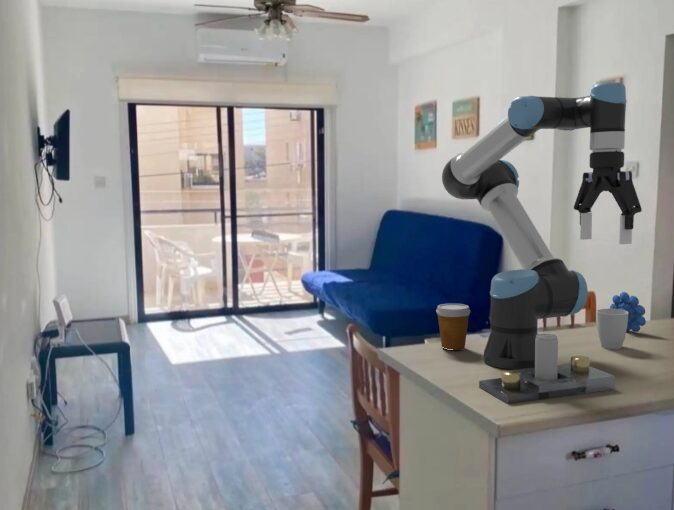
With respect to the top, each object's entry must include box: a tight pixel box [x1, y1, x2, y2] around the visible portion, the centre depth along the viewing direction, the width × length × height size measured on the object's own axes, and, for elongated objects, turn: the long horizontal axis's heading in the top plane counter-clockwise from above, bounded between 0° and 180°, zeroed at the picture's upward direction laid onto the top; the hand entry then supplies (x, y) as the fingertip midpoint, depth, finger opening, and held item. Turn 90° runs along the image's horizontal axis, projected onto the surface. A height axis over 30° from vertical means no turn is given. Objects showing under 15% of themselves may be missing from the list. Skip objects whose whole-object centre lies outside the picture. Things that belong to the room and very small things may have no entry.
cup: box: [596, 308, 628, 350], centre depth 179 cm, size 8×8×10 cm
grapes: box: [609, 291, 647, 333], centre depth 196 cm, size 12×7×12 cm, turn 33°
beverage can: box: [535, 333, 559, 381], centre depth 145 cm, size 5×5×12 cm
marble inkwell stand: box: [478, 355, 616, 405], centre depth 145 cm, size 12×27×6 cm, turn 107°
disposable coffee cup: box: [435, 303, 471, 351], centre depth 181 cm, size 10×10×12 cm
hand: (604, 241), depth 153 cm, fingers open, 13 cm apart
